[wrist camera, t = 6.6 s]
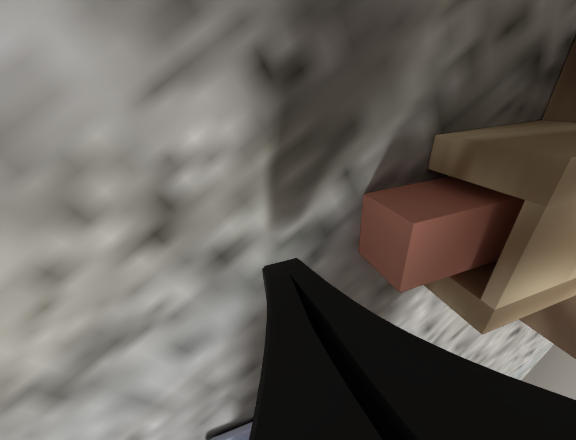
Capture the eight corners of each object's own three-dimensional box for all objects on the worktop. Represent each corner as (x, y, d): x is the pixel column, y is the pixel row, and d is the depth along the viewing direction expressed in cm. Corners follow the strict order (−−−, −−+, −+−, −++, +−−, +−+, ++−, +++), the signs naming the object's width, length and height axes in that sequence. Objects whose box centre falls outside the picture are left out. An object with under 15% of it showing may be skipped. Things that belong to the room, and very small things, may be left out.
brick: (468, 220, 15) (531, 249, 12) (356, 249, 13) (399, 292, 10) (485, 167, 13) (563, 186, 11) (360, 192, 12) (413, 223, 9)
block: (489, 244, 17) (582, 292, 13) (405, 269, 15) (482, 334, 11) (540, 120, 13) (698, 131, 9) (435, 135, 11) (571, 157, 7)
